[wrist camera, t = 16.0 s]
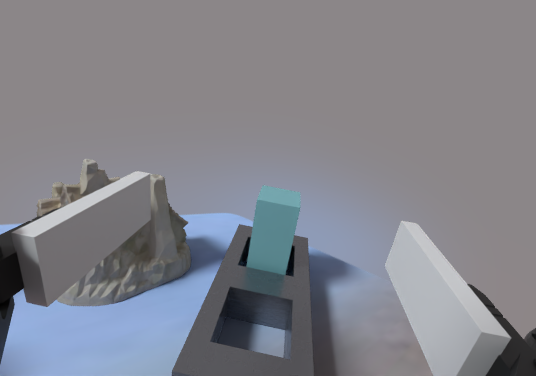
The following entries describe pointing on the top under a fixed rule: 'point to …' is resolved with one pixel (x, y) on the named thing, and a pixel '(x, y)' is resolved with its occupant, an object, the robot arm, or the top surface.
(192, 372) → the grey block with holes
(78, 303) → the ceramic cottage
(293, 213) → the teal peg
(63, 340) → the top surface
